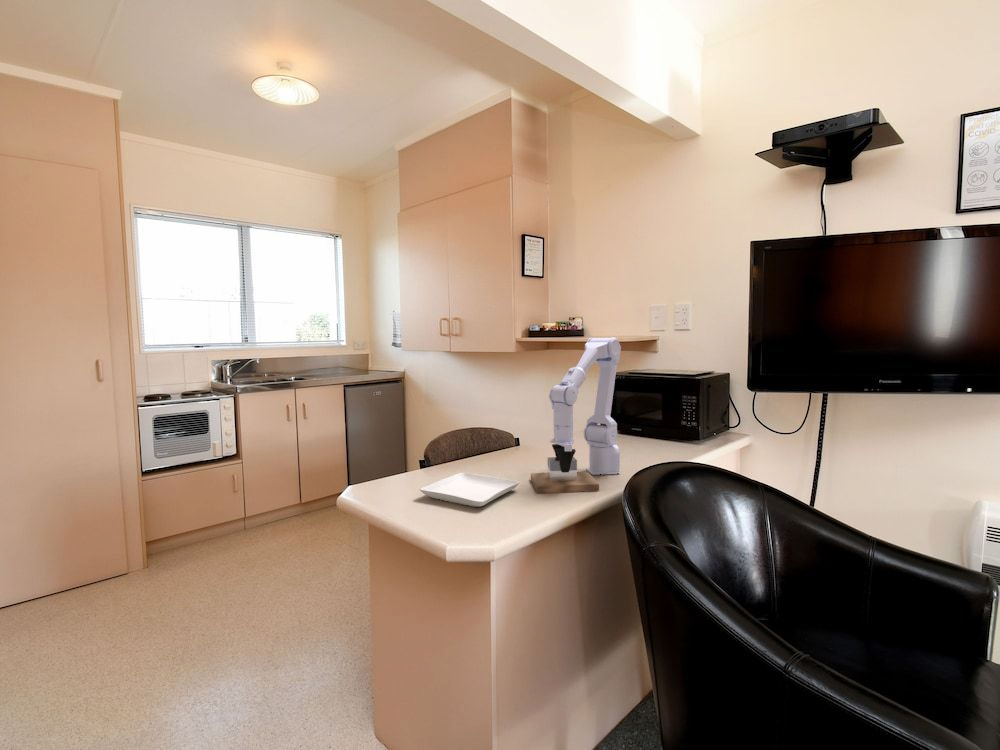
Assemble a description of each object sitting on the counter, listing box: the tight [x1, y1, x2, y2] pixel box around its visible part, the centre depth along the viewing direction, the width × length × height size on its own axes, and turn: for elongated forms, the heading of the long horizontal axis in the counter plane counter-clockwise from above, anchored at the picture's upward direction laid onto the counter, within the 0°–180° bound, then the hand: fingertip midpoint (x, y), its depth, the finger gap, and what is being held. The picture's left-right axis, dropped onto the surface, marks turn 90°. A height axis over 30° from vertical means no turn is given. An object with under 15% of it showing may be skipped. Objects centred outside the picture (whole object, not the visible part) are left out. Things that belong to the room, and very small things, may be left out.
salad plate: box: [419, 472, 520, 508], centre depth 141 cm, size 21×21×3 cm
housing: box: [547, 456, 578, 481], centre depth 149 cm, size 4×8×6 cm, turn 94°
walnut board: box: [530, 470, 600, 494], centre depth 149 cm, size 18×14×2 cm
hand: (563, 469), depth 149 cm, fingers closed on housing, 4 cm apart
